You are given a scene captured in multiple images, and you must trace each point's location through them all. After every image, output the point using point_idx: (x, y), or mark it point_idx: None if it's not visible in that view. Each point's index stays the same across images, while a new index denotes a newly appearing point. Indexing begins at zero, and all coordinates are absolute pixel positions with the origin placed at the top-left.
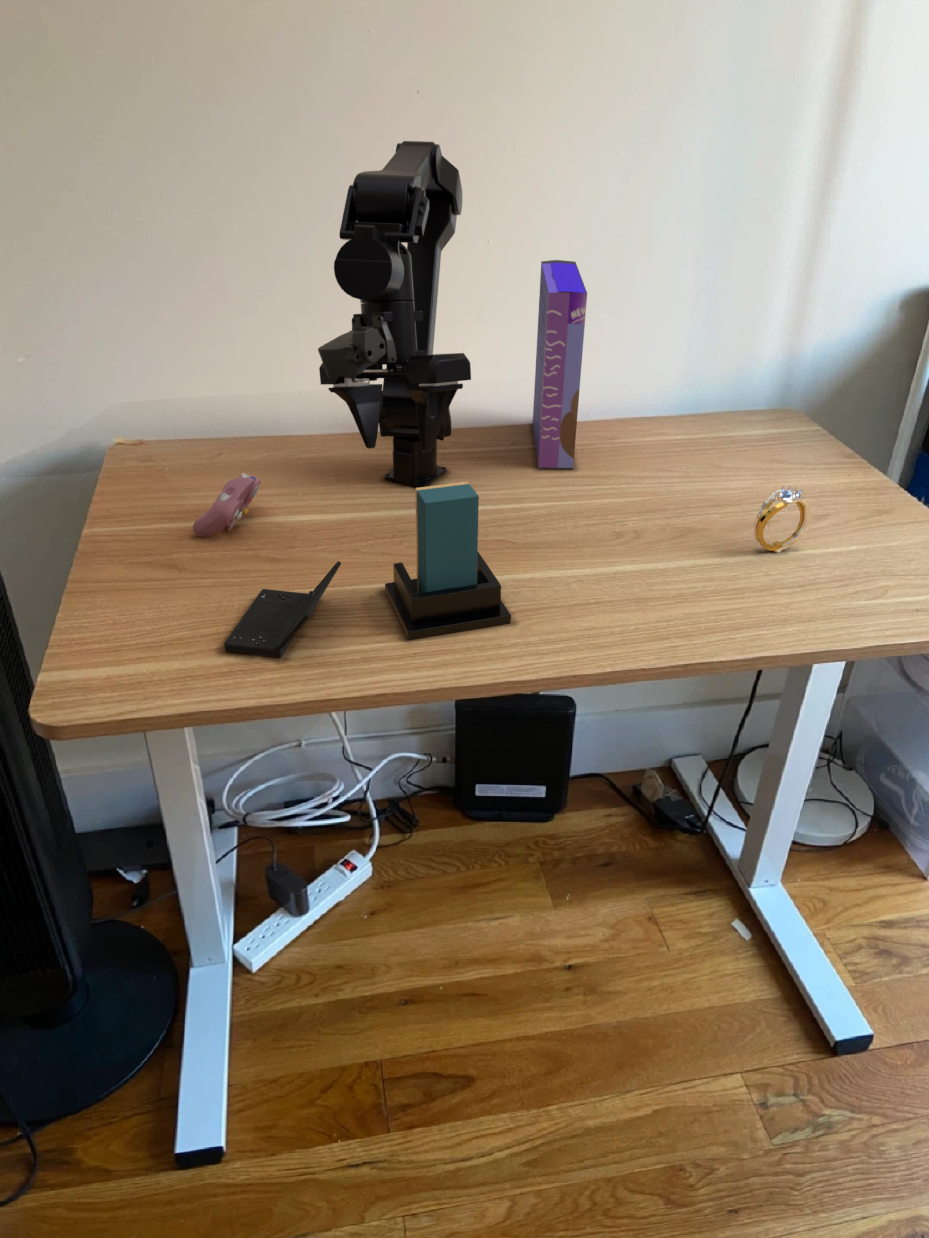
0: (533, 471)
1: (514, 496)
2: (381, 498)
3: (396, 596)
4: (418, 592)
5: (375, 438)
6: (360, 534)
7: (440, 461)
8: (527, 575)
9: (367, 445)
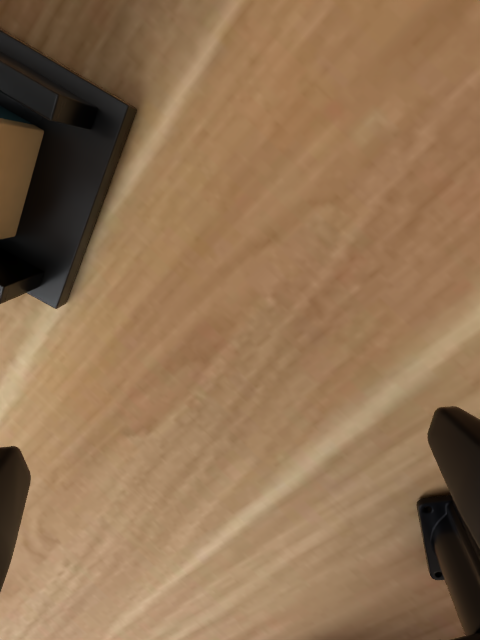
0: (297, 634)
1: (255, 556)
2: None
3: (61, 81)
4: (26, 123)
5: (450, 480)
6: (387, 263)
7: None
8: (24, 362)
9: (448, 413)
